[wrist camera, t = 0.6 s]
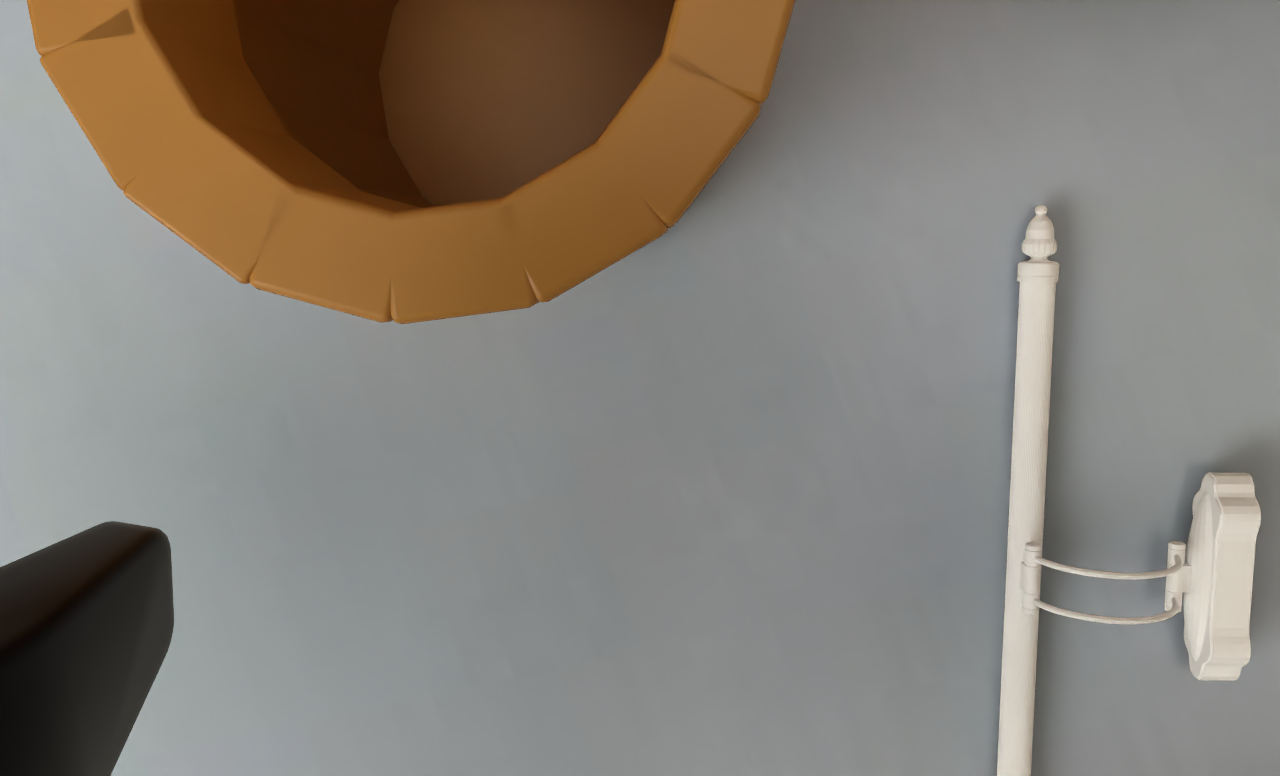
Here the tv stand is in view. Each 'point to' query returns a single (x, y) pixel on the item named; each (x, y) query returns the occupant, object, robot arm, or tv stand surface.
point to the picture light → (1205, 575)
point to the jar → (413, 134)
